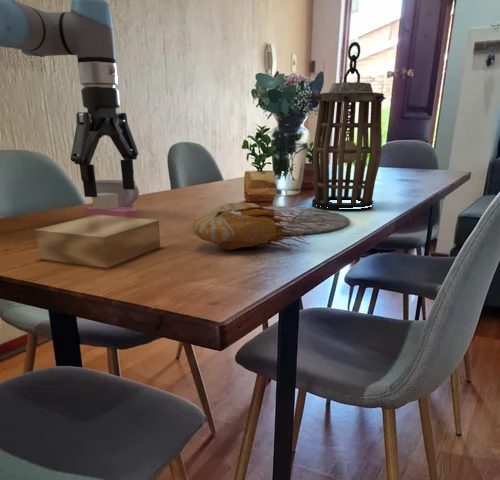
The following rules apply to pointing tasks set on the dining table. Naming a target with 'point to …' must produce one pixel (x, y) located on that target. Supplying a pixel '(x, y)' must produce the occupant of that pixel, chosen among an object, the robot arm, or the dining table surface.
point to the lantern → (347, 143)
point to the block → (98, 240)
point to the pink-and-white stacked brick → (109, 207)
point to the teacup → (118, 191)
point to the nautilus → (242, 226)
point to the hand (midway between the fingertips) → (111, 193)
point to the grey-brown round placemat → (309, 220)
